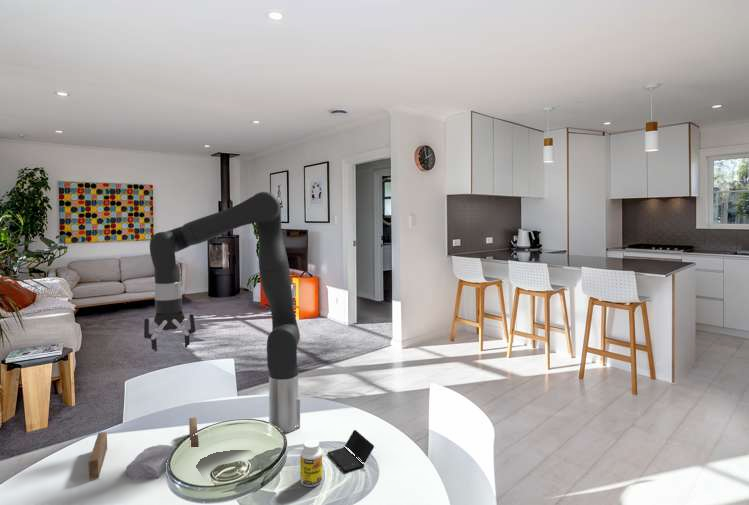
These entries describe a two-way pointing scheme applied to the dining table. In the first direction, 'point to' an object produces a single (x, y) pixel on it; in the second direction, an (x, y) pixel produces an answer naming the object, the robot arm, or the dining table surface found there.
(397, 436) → the dining table surface
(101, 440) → the walnut chute
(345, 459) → the handheld gaming console
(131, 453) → the dining table surface
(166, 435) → the dining table surface
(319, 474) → the supplement bottle
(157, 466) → the stone block
